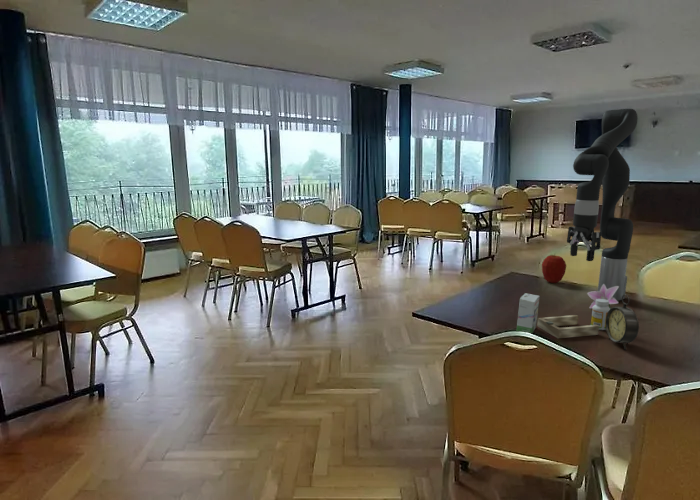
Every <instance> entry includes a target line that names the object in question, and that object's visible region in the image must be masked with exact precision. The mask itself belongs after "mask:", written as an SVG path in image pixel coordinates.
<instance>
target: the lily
mask: <svg viewBox="0 0 700 500" xmlns="http://www.w3.org/2000/svg"><path fill="white" fill-rule="evenodd" d="M618 287H619V286H615V287H611V288H609V289H607V288H606V286H605V285H604V284H603V285H602V287H601V289H600V291H598V290H593V291H588V292H587V293H586V295H587V296H588V297H589V298H590V299H591V300H593V301H592V302H591V304H590V305H589V307H588V308H589V309H592V308H593V306H594V305H596V304H595V302H596V299H606V300H608V301H609V305H608V307H609V308H610V309H611V305H616V304H619V301H617V300H616V299H615V298H613V297H612V296H613V295H614V293H615V292H616V290H617V289H618Z"/></svg>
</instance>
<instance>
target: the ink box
mask: <svg viewBox="0 0 700 500" xmlns="http://www.w3.org/2000/svg"><path fill="white" fill-rule="evenodd" d="M518 302H519V305H518V313H517V321H516V331H524V332H529V333H532V334H533V333H534V331H535V329H536V328H537V324H538V315H539V313H538V312H539V306H540V305H539V304H540V295H537V294H531V293H525V292H524V294H523V295H521V296H520V298H519V301H518ZM516 331H515V332H516Z"/></svg>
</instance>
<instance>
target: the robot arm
mask: <svg viewBox="0 0 700 500" xmlns="http://www.w3.org/2000/svg"><path fill="white" fill-rule="evenodd" d="M601 118H602V119H601V135H600V136H598V137H597V138H596V139H595V140H594V142H593V143H592V144H591V146H589V147H588V148H586V149H585V150H583V151H581V152H580V153H579V154H578V155H577V156H576V158H575V159H574V161H573V165H572V168H573V171H574V173H575V174H577V175H580V176H593V177H592V179H591V180H590V181H584V182H579V183H578V185H577V188H576V197H575V203H574V208H573V209H574V211H573V218H572V226H569V227H568V229H567V235H566V237H567V238H566V243H568V244H569V245H570V251H569V252H570V253H569V254H570V256H571V257H577V255H578V248H579V246H578V245H579V243H580V242H582V243H583V244H584V246H585V247H586V249H587V251H586V262H593V261H594V259H595V252H596V251H597V250H600V249H601V238H602V239H604V240H607V241H608V240H610V241H616V244H615V245H614V246H612V247H605V248H603V249H602V251H601V256H600V257H601V259H600V266H599V277H598V285H597V291H600V289H601V287H602V285H603V284H604V285H605V286H606V288H607V289H609V288H611V287H615V286H619V287H618V289H617V290H616V292H615V293H614V295H613V296H612V297H613V298H615V299H616V300H617V301H618V302H619V301H622V296H623V295H624V294H626V289H627V284H628V282H627V281H628V276H627V275H626V274H627V266H628V256H629V253H630V249H631V244H632V238H633V233H634V232H633V231H634V222H633V221H632V219H629V218H623V217H616V216H615V209H616V206H617V204H618V202H620V199H621V198H622V197H623V196H624V194H625V193H626V192H627V190H628V188H629V186H630V176H631V175H630V174H631V173H630V172H631V171H630V166H629V164H628V162H627V160H626V159H625V158H624V156H623V155H622V154H621V152H620V151H619V149H618V146H619V145H620V144H621V143H623V141H624V140H626V139H627V138H628V137H629V136H630V135H631V134H632V133H634V131H635V129H636V127H637V124H638V113H637V111H636V110H635V109H634V108H620V109H618V108H617V109H609V110H606V111H604V113H603V114H602V117H601ZM601 186H602V201H601V202H602V204H601V212H600V222H599V231H595V228H596V227H597V226H598V217H599V210H600V209H599V208H600V205H599V204H600V201H599V200H600V191H601ZM624 299H626V295H624V297H623V300H624Z"/></svg>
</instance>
